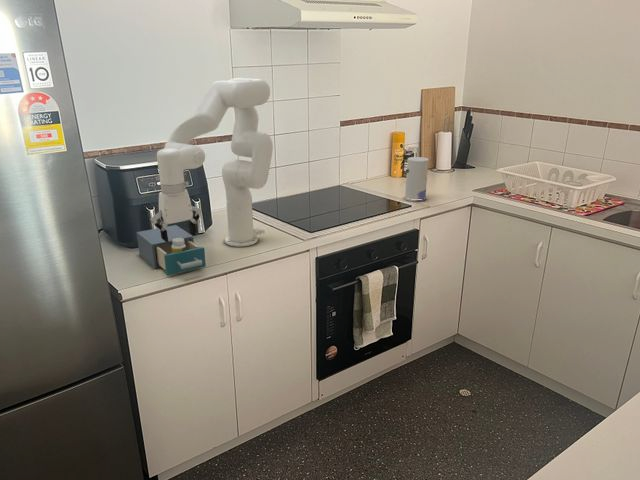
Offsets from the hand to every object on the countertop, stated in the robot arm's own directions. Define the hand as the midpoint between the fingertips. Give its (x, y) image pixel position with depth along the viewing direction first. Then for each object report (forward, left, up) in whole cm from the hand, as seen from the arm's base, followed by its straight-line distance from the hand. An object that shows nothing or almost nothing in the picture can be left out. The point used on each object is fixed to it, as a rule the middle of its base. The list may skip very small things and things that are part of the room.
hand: (179, 237), depth 185 cm
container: (-129, -19, -11) cm, 131 cm away
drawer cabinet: (+1, -12, -11) cm, 17 cm away
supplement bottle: (+1, 0, -9) cm, 9 cm away
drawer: (+1, +1, -10) cm, 10 cm away
